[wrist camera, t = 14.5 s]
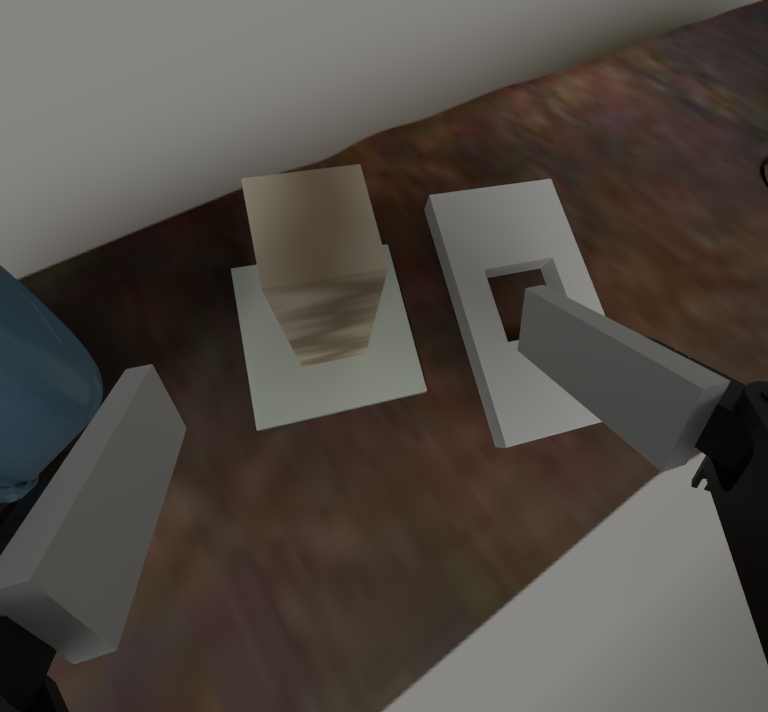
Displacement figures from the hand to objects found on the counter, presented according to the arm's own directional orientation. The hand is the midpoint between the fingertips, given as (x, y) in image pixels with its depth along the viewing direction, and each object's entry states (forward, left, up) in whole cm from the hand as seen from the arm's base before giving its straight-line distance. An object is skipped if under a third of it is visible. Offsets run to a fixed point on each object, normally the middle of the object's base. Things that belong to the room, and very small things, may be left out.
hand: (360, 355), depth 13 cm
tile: (-1, +6, -15) cm, 17 cm away
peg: (-1, +6, -14) cm, 16 cm away
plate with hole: (+16, +5, -15) cm, 23 cm away
